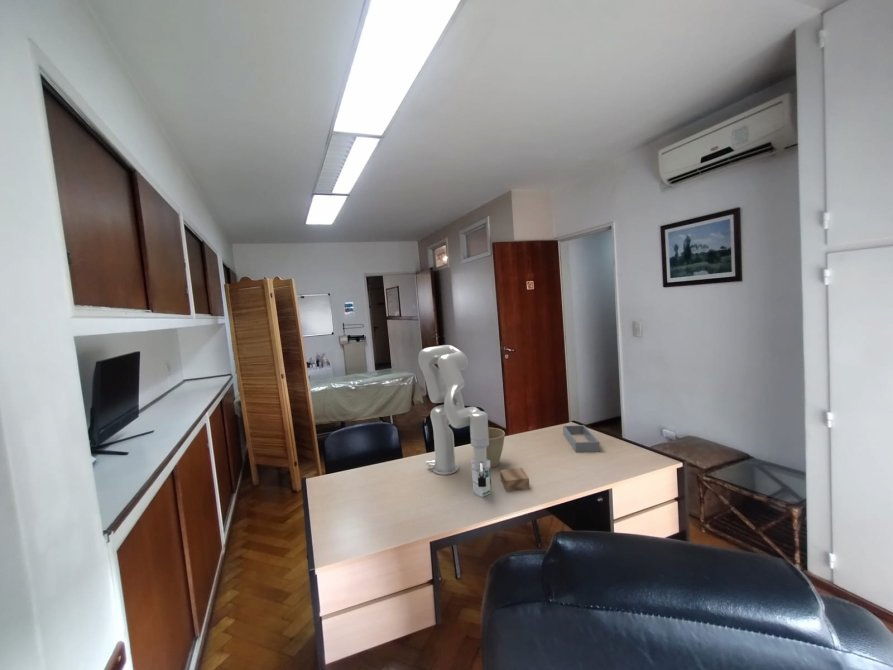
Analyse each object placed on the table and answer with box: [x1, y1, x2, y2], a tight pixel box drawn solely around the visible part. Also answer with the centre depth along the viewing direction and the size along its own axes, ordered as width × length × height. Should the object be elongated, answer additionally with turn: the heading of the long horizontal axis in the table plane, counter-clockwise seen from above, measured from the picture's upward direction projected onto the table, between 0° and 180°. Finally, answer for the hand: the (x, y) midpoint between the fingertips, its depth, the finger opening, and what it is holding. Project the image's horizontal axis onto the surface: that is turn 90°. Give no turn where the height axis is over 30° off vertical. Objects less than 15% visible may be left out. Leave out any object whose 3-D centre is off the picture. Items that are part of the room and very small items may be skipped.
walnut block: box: [499, 467, 530, 492], centre depth 165 cm, size 10×10×5 cm
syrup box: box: [470, 459, 493, 498], centre depth 159 cm, size 6×6×14 cm
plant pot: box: [486, 427, 506, 468], centre depth 185 cm, size 15×15×16 cm
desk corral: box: [562, 424, 601, 453], centre depth 206 cm, size 12×26×5 cm, turn 176°
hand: (481, 481), depth 159 cm, fingers closed on syrup box, 7 cm apart
